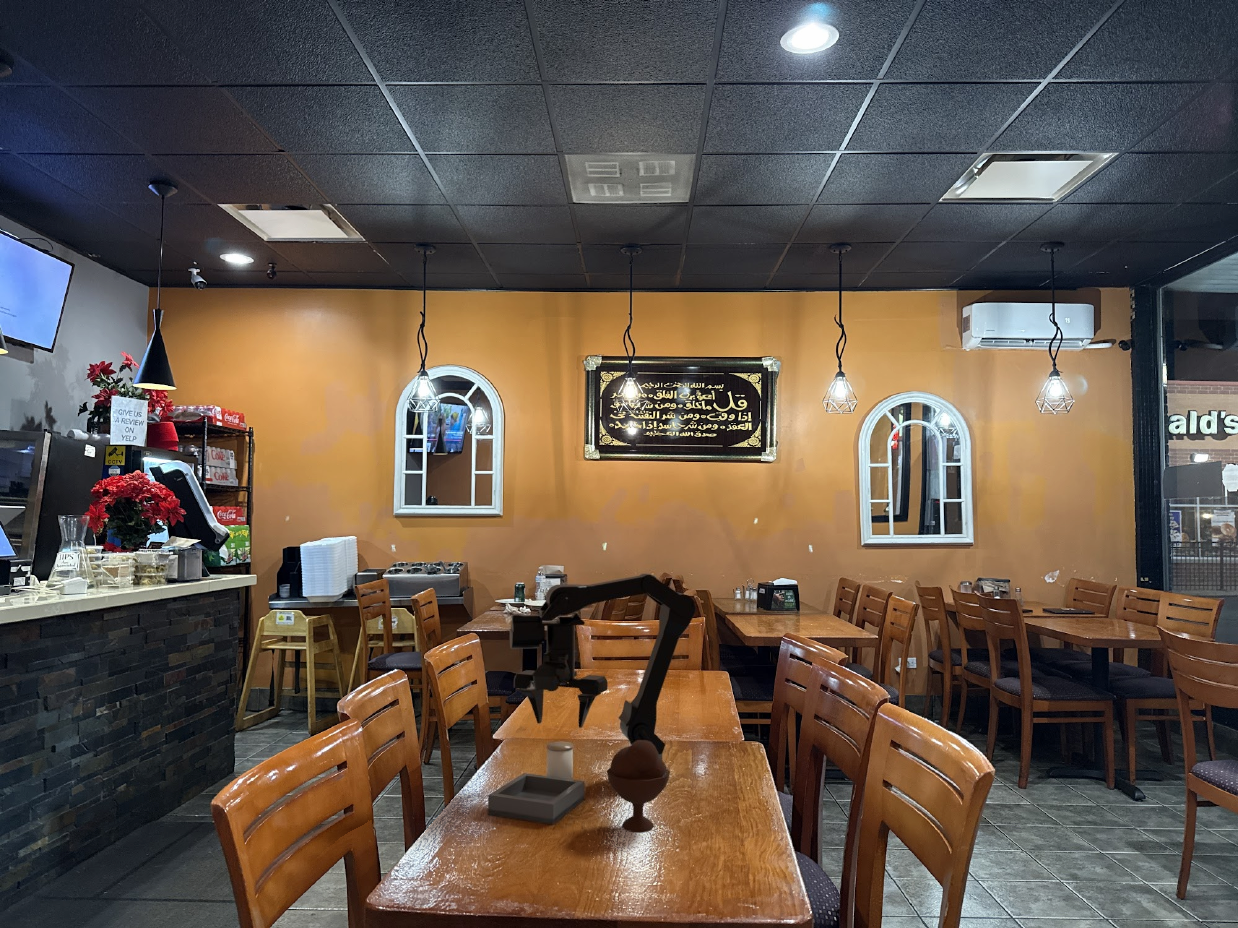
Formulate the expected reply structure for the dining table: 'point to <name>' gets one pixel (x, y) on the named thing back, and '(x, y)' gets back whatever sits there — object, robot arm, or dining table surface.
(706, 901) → the dining table surface
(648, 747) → the ice cream bowl
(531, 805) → the serving tray
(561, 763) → the cream jar
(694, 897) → the dining table surface
